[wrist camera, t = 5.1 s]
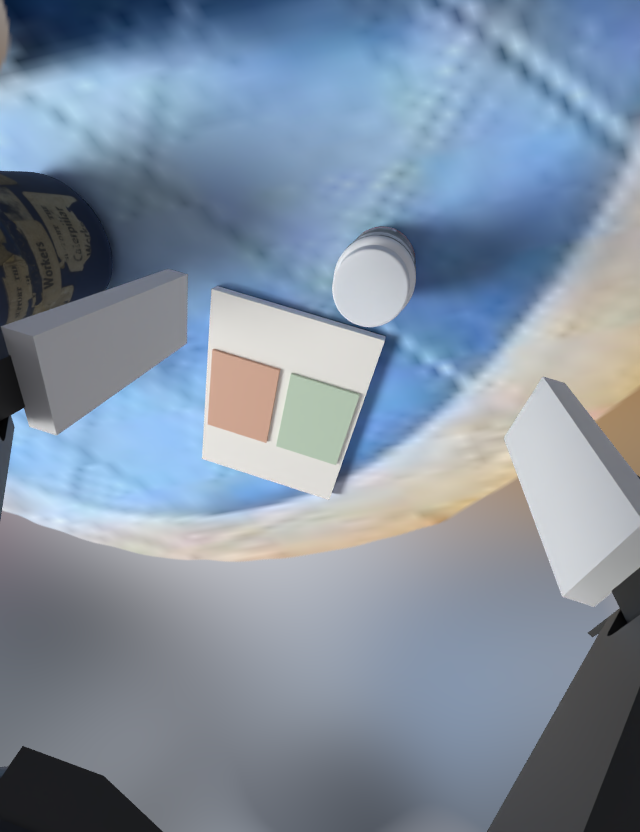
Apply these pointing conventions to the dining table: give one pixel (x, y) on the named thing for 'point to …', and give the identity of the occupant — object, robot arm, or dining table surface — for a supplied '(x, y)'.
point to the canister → (47, 246)
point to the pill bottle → (375, 277)
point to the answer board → (283, 390)
